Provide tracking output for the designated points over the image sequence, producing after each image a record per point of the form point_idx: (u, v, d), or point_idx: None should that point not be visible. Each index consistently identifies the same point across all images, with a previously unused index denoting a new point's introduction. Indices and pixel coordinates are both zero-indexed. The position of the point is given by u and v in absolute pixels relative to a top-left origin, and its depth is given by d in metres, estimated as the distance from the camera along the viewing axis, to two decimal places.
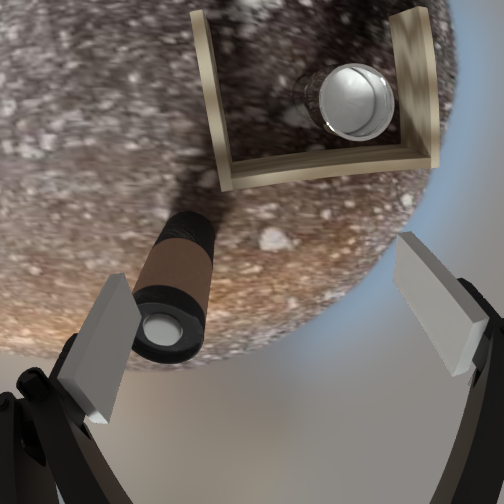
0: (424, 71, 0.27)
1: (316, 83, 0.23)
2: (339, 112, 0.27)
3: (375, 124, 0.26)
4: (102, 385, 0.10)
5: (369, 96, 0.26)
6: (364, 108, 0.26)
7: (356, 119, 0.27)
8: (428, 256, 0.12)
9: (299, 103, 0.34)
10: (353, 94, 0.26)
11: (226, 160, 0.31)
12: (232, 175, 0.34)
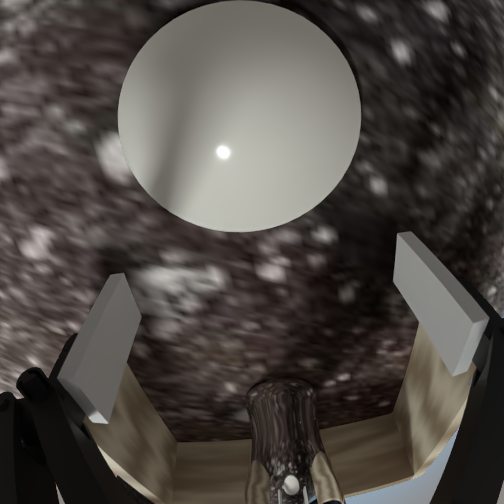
0: (446, 417, 0.17)
1: None
2: None
3: None
4: (102, 385, 0.10)
5: None
6: None
7: None
8: (428, 256, 0.12)
9: None
10: None
11: (162, 502, 0.21)
12: (173, 496, 0.23)
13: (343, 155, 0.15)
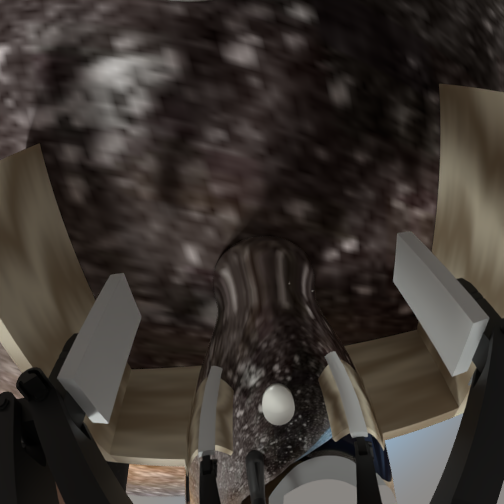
0: None
1: (188, 492, 0.07)
2: None
3: None
4: (102, 385, 0.10)
5: None
6: None
7: None
8: (428, 256, 0.12)
9: None
10: None
11: None
12: (114, 439, 0.17)
13: None
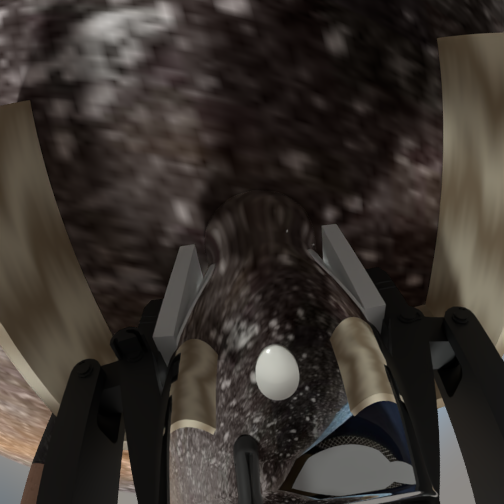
0: None
1: (156, 464, 0.06)
2: None
3: None
4: None
5: None
6: None
7: None
8: (343, 246, 0.14)
9: None
10: None
11: None
12: None
13: None
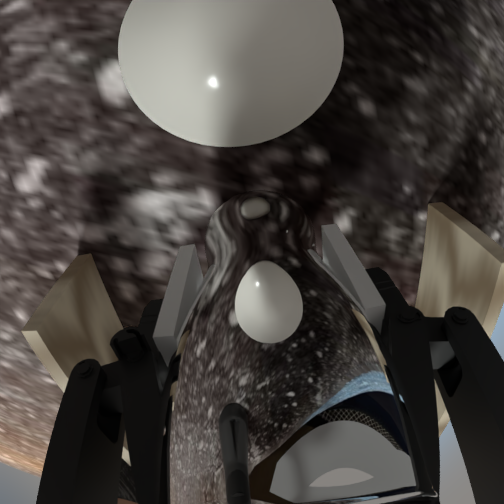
0: None
1: (157, 464, 0.06)
2: None
3: None
4: None
5: None
6: None
7: None
8: (343, 246, 0.14)
9: None
10: None
11: None
12: None
13: (329, 73, 0.15)
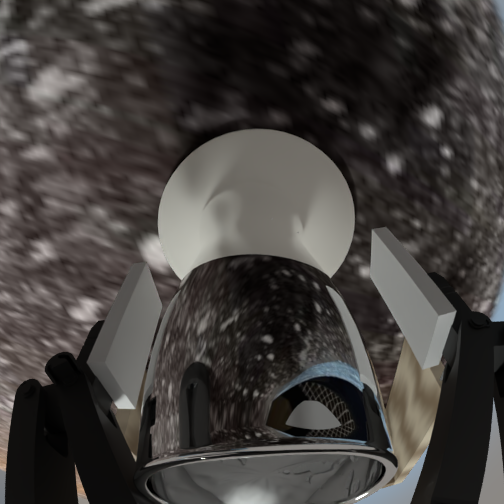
0: (416, 440, 0.22)
1: (141, 417, 0.07)
2: None
3: None
4: (130, 370, 0.11)
5: None
6: None
7: None
8: (400, 251, 0.13)
9: None
10: None
11: None
12: None
13: (338, 255, 0.20)
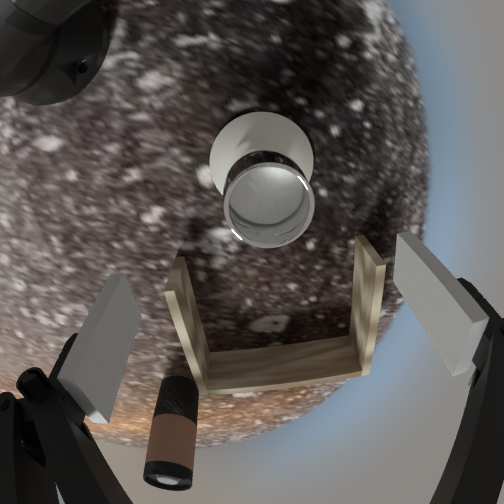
0: (368, 315, 0.39)
1: (226, 182, 0.24)
2: (260, 204, 0.27)
3: (298, 220, 0.26)
4: (102, 385, 0.10)
5: (296, 184, 0.26)
6: (290, 198, 0.27)
7: (280, 210, 0.27)
8: (428, 256, 0.12)
9: None
10: (277, 184, 0.26)
11: (202, 382, 0.43)
12: (208, 383, 0.45)
13: None
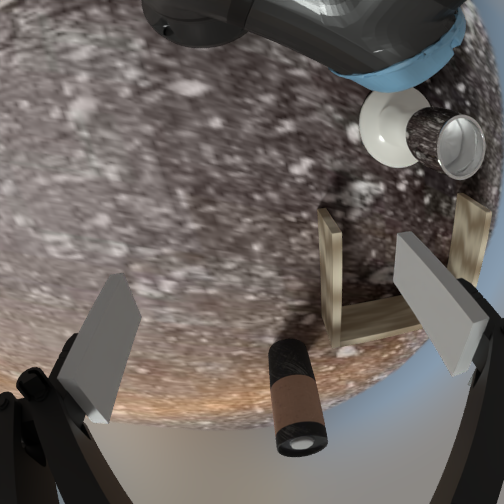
0: (475, 258, 0.41)
1: (430, 127, 0.25)
2: None
3: (465, 163, 0.28)
4: (102, 385, 0.10)
5: (459, 137, 0.28)
6: (455, 147, 0.28)
7: (448, 156, 0.29)
8: (428, 256, 0.12)
9: (388, 132, 0.36)
10: (449, 135, 0.28)
11: (339, 332, 0.45)
12: None
13: None
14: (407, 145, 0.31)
